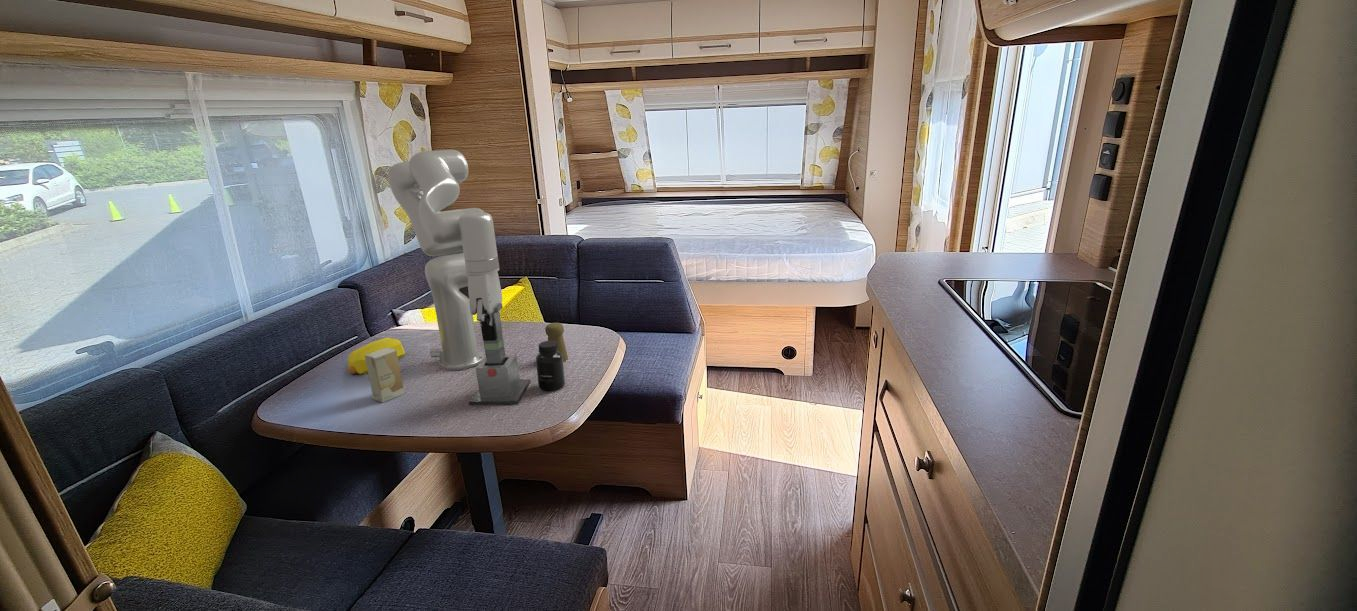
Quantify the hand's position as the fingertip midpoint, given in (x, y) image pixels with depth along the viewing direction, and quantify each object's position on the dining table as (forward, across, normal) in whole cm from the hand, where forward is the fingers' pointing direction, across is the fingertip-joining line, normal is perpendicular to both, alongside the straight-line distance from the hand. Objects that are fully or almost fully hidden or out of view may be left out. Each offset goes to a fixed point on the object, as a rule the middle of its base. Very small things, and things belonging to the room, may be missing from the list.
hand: (492, 336), depth 141 cm
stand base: (+16, 0, 0) cm, 16 cm away
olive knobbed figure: (+16, -21, +10) cm, 28 cm away
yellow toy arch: (+16, -21, -43) cm, 50 cm away
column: (+9, 0, 0) cm, 9 cm away
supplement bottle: (+16, -4, +12) cm, 21 cm away
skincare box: (+16, 0, -29) cm, 33 cm away
